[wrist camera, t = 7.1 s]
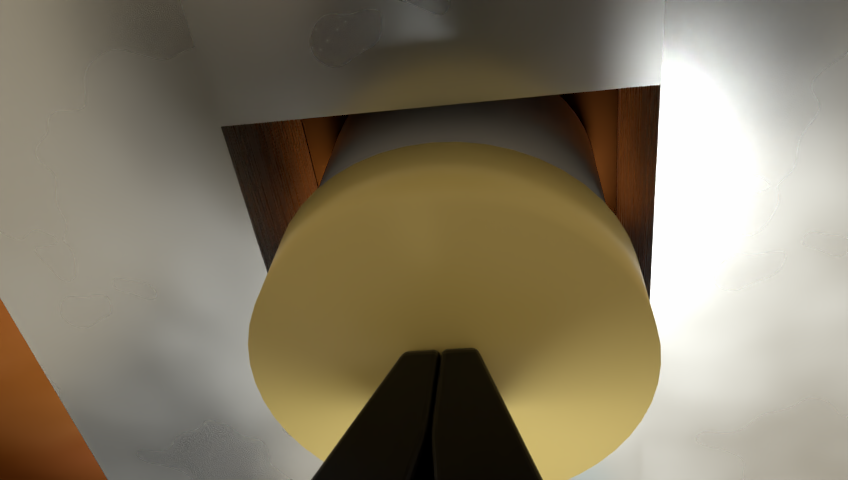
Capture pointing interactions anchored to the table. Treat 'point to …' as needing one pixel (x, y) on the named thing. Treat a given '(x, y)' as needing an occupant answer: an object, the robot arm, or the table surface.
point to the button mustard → (461, 279)
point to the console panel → (403, 89)
